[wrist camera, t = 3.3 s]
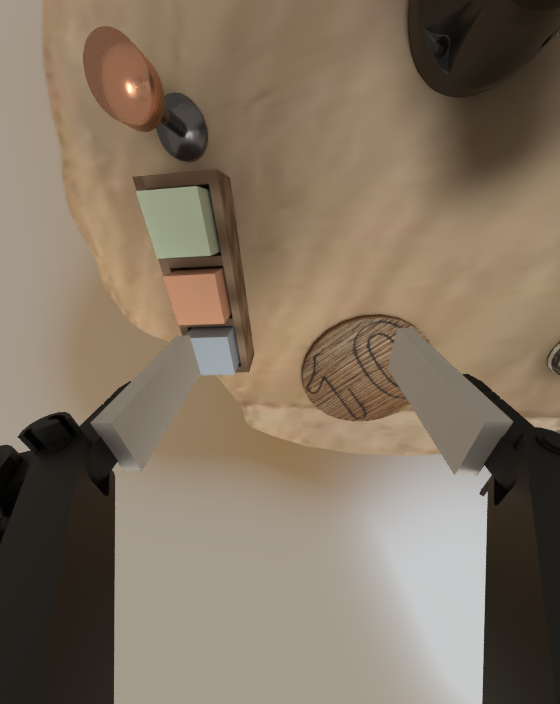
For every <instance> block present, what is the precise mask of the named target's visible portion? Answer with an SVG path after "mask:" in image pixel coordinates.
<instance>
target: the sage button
mask: <svg viewBox="0 0 560 704" xmlns="http://www.w3.org/2000/svg"><path fill="white" fill-rule="evenodd" d="M136 194H137V197H138V200H139V203H140V206H141V210H142V213H143V216H144V219H145V222H146V225H147V229H148V232H149V235H150V238H151V241H152V244H153V247H154V251H155V254H156V257H157V259H163V258H180V257H197V256H211V255H214V254H216V253H218V252H220V248H219V242H218V237H217V231H216V225H215V220H214V214H213V209H212V203H211V198H210V192H209V190H207V189H204V188H201V187H198V186H192V187H179V188H167V189H155V190H143V191H136Z"/></svg>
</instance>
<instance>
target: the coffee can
mask: <svg viewBox="0 0 560 704" xmlns="http://www.w3.org/2000/svg"><path fill="white" fill-rule="evenodd" d="M548 367H549V369H550V370H551V371H553V372H554V373H557V374H559V375H560V343H559V344H558V345H557V346H556V347H555V348H554V349H553V350H552V352H551V353H550V355H549V357H548Z"/></svg>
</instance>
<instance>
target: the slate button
mask: <svg viewBox="0 0 560 704" xmlns="http://www.w3.org/2000/svg"><path fill="white" fill-rule="evenodd" d="M187 335H190V339H191V342H192V345H193V349H194V352H195V355H196V359H197V362H198V365H199V369H200V372H201V373H200V375H235V373H236V370H237V367H238V365H239V362H240V359H239V353H238V348H237V342H236V337H235V331H234V326H212V327H192V329H191V330H190V331H189V332H188V333H187V334H186V335H185V336H187Z"/></svg>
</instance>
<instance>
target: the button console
mask: <svg viewBox="0 0 560 704" xmlns="http://www.w3.org/2000/svg"><path fill="white" fill-rule="evenodd" d="M133 180H134V183H135V186H136V190H137V191H143V190H155V189H167V188H179V187H192V186H198V187H201V188H204V189H207V190H209V192H210V198H211V203H212V209H213V214H214V220H215V225H216V231H217V237H218V242H219V248H220V252H218V253H216V254H214V255H211V256H197V257H180V258H163V259H159V263H160V266H161V269H162V272H163V275H164V276H165V275H167V274H169V273H172V272H174V271H176V270H191V269H209V268H223V270H224V275H225V281H226V287H227V292H228V298H229V303H230V309H231V315H230V316H229V318H228V319H227V321H226V322H225V324H202V325H179V326H180V329H181V333H182V336H185V335H186V334H187V333H188V332H189V331H190V330H191V329H192V327H212V326H234V331H235V337H236V342H237V348H238V353H239V359H240V362H239V365H238V367H237V370H236V372H249V371H250V367H251V364H252V360H253V357H254V349H253V342H252V334H251V327H250V320H249V313H248V306H247V298H246V291H245V284H244V277H243V269H242V262H241V255H240V248H239V240H238V233H237V226H236V219H235V212H234V204H233V197H232V190H231V183H230V178H229V177H227V176H226V175H224V174H223V173H221V172H220V171H218V170H207V171H195V172H184V173H172V174H161V175H150V176H138V177H133Z"/></svg>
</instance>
